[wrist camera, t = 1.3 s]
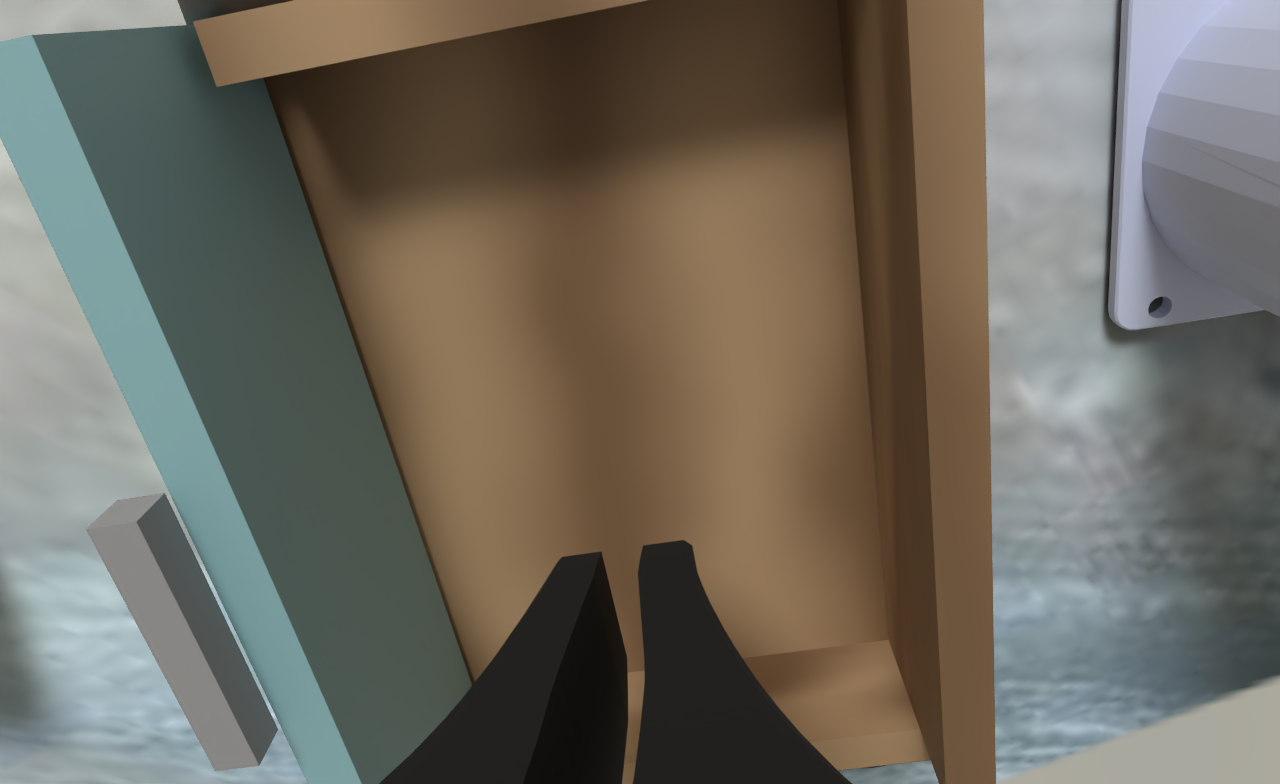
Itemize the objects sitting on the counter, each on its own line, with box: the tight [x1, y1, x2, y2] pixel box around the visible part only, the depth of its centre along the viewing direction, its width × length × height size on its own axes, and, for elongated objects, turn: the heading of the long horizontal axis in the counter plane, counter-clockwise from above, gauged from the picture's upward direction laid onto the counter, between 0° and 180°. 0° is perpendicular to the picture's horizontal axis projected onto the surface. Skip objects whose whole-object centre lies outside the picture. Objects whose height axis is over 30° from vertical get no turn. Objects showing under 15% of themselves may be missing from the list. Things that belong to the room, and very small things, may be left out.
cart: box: [178, 0, 996, 784], centre depth 18 cm, size 13×20×7 cm, turn 10°
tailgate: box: [0, 25, 472, 784], centre depth 17 cm, size 2×18×7 cm, turn 10°
